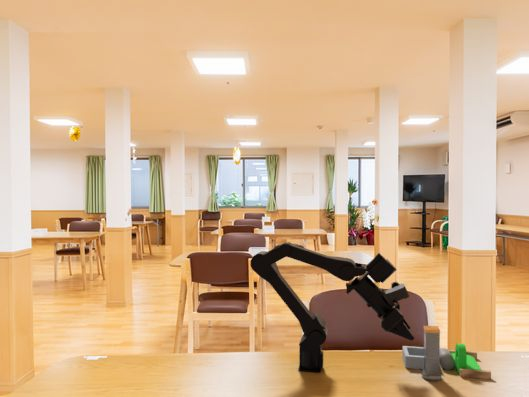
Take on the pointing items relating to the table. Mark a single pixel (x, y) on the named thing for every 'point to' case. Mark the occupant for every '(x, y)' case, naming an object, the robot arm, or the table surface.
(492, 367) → the table surface
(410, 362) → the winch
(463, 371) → the bay rails
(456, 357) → the mechanical part
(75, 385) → the table surface
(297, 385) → the table surface
